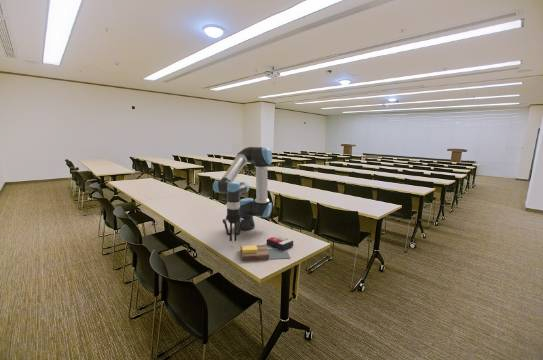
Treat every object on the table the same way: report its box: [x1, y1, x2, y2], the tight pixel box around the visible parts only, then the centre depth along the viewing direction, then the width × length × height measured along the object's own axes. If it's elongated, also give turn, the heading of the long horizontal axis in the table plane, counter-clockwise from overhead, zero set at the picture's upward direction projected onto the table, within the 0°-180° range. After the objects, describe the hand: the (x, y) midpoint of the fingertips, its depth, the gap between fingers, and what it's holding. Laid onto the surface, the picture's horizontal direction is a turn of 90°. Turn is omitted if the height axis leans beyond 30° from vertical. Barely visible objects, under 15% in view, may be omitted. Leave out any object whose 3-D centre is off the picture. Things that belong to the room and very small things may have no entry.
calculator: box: [266, 235, 294, 250], centre depth 174 cm, size 11×4×15 cm
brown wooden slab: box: [240, 244, 270, 262], centre depth 158 cm, size 14×16×3 cm
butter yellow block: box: [241, 244, 258, 253], centre depth 157 cm, size 6×9×2 cm, turn 101°
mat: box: [267, 247, 291, 261], centre depth 161 cm, size 14×13×1 cm
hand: (233, 245), depth 155 cm, fingers closed
